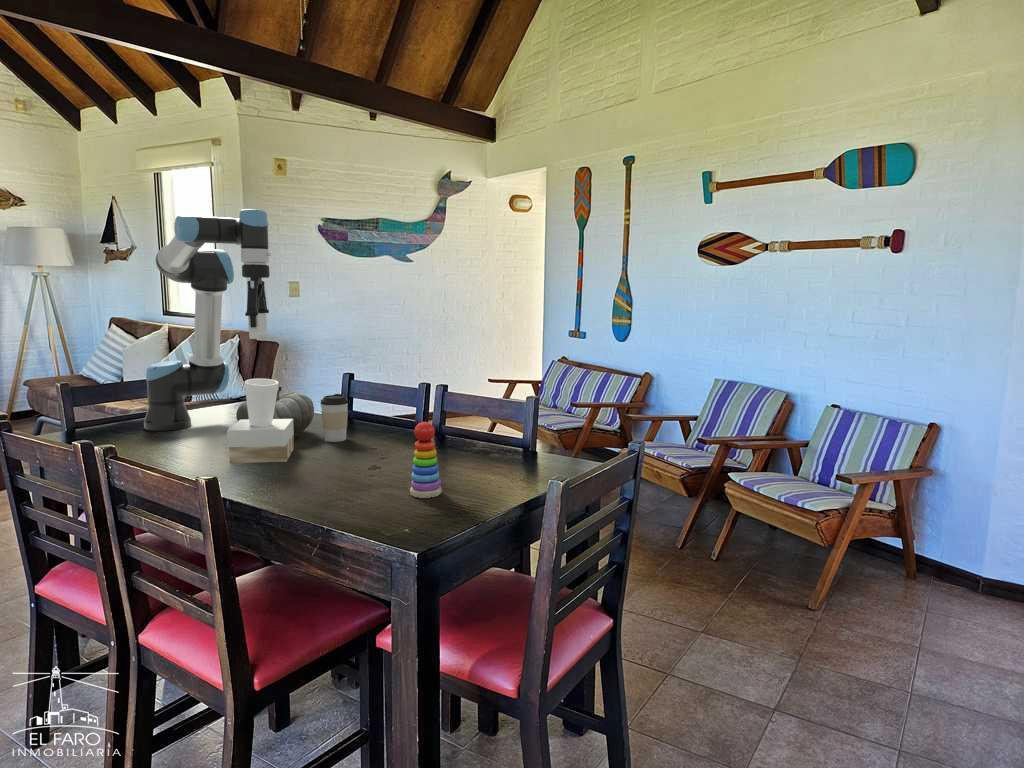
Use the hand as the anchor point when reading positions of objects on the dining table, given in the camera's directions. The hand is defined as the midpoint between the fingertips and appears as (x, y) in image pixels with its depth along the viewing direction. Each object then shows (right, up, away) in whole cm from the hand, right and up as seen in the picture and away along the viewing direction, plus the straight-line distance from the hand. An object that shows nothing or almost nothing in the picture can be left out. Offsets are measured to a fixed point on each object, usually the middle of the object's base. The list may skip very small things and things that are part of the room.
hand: (258, 336), depth 203 cm
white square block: (-1, -31, +5) cm, 32 cm away
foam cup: (-1, -26, +4) cm, 27 cm away
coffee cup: (+16, -33, +28) cm, 46 cm away
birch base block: (-1, -36, +6) cm, 37 cm away
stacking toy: (+53, -42, -30) cm, 74 cm away
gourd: (-5, -32, +32) cm, 45 cm away
